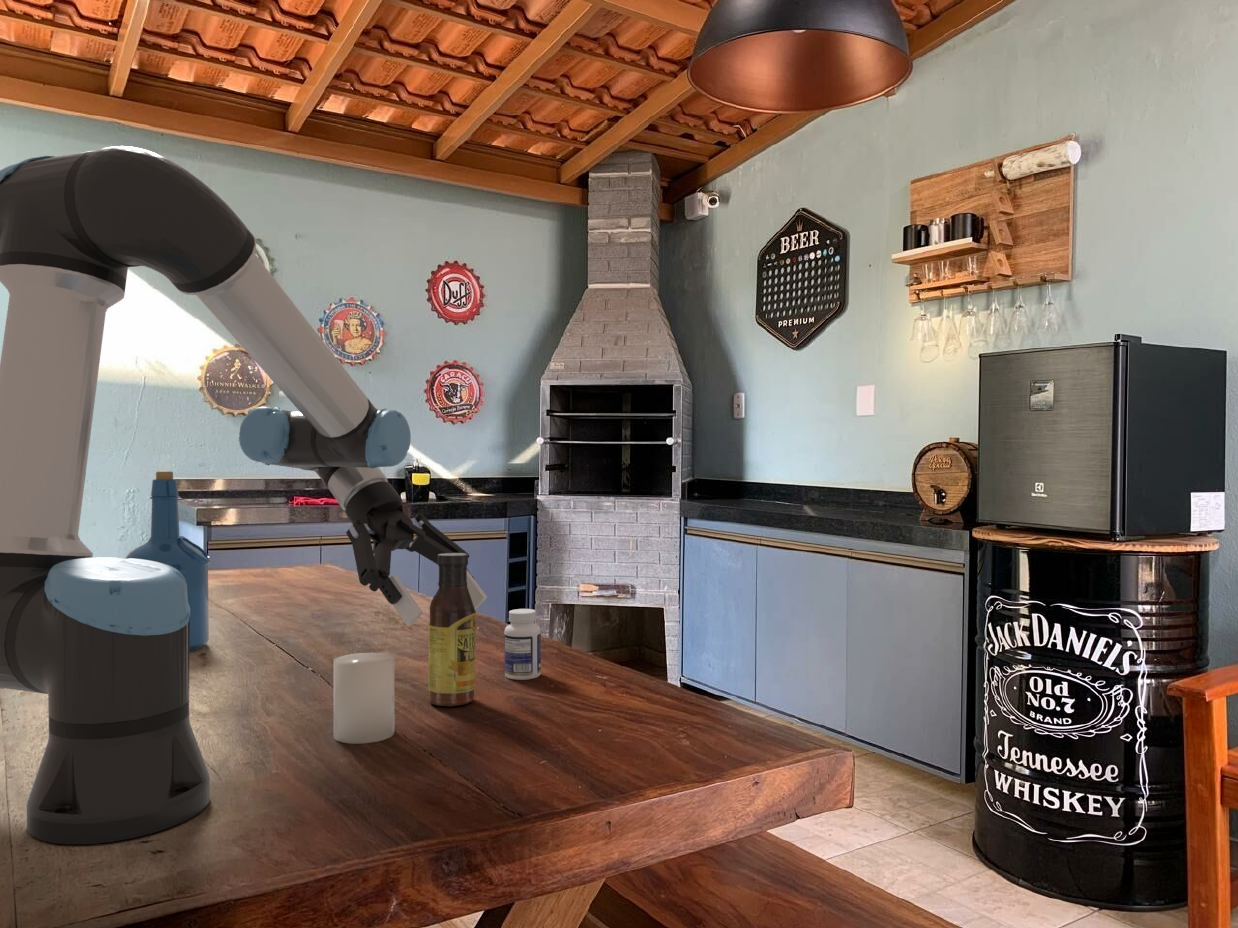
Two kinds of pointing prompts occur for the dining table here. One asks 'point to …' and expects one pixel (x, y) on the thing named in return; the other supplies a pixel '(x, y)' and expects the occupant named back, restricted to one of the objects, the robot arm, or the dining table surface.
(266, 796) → the dining table surface
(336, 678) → the white rounded cylinder
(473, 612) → the sauce bottle
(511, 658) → the pill bottle
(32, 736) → the dining table surface
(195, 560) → the wine bottle
